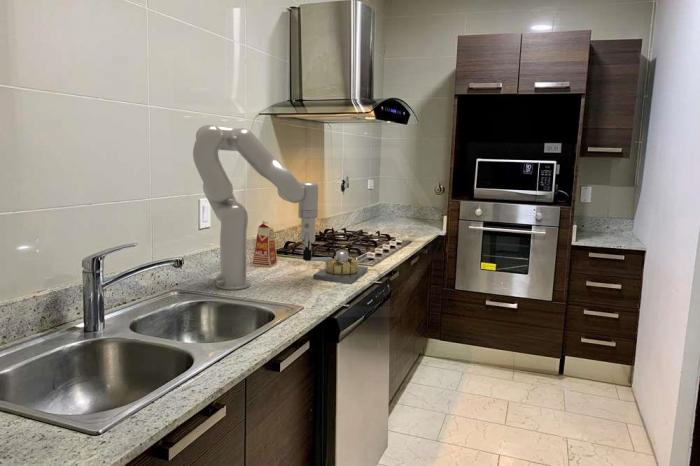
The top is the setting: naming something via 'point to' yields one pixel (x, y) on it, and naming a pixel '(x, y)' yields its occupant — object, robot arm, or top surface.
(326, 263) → the tan ring with lever
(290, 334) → the top surface
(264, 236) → the milk carton
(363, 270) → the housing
